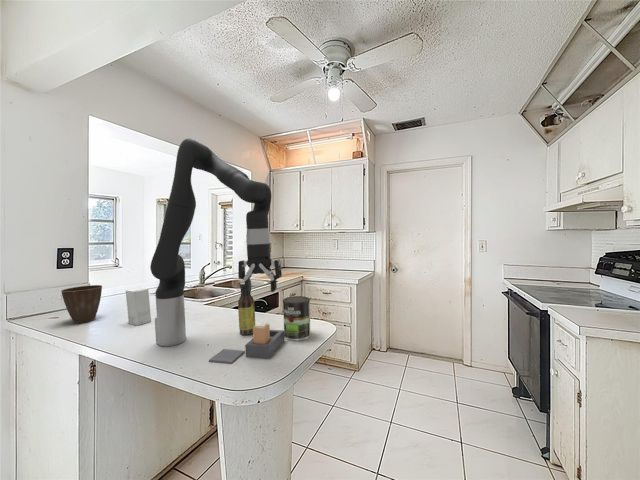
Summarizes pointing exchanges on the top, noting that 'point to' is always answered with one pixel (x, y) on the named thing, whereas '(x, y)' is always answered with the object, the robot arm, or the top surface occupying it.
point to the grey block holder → (265, 345)
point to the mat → (227, 356)
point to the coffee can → (296, 318)
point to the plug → (261, 333)
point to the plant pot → (82, 302)
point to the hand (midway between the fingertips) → (260, 291)
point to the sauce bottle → (246, 311)
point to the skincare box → (138, 306)
